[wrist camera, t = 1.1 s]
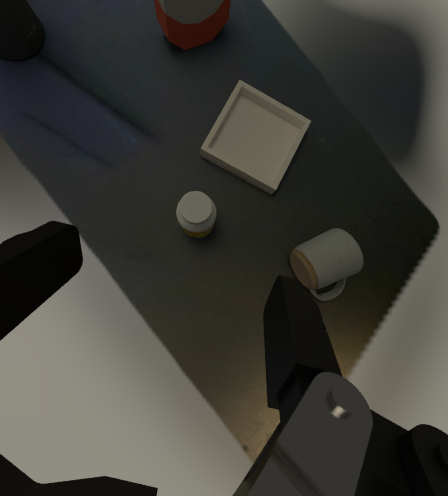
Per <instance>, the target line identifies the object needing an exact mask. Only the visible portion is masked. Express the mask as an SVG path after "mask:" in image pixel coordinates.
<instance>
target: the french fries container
mask: <svg viewBox="0 0 448 496" xmlns="http://www.w3.org/2000/svg"><path fill="white" fill-rule="evenodd" d="M154 3H155V8H156V14H157V19H158V21H159V23H160V25H161V27H162V29H163V31H164V33H165V35H166V37H167V39H168V41H170V42H171V43H173V44H175V45H177V46H178V47H180V48H182V49H184V50H187V49H190V48H193V47H195V46H198V45H201V44H204V43H206V42H209V41H212V40H213V39H214V38H215V37H216V35H217V34H218V33H219V31H220V30H221V29H222V27H223V26H224V25H225V24H226V22H227V21H228V18H229V9H230V0H154Z"/></svg>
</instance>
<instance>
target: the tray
mask: <svg viewBox="0 0 448 496" xmlns="http://www.w3.org/2000/svg"><path fill="white" fill-rule="evenodd" d="M310 122H311V121H310V120H309V119H307V118H305V117H303V116H302V115H300V114H298V113H296V112H295V111H293V110H291V109H290V108H288V107H286V106H284V105H283V104H281V103H279V102H277V101H276V100H274V99H272V98H271V97H269V96H267V95H265V94H264V93H262V92H260V91H258V90H257V89H255V88H253V87H251V86H250V85H248V84H246V83H245V82H243V81H241V80H239V82H238V84H237V85H236V87H235V89H234V91H233V92H232V94H231V96H230V98H229V99H228V101H227V103H226V105H225V106H224V108H223V110H222V112H221V114H220V115H219V117H218V119H217V121H216V122H215V124H214V126H213V128H212V129H211V131H210V133H209V135H208V136H207V138H206V140H205V142H204V143H203V145H202V147H201V157H203V158H205V159H207V160H209V161H210V162H212V163H214V164H216V165H218V166H220V167H221V168H223V169H225V170H227V171H229V172H230V173H232V174H234V175H236V176H238V177H240V178H241V179H243V180H245V181H247V182H249V183H250V184H252V185H254V186H256V187H258V188H260V189H261V190H263V191H265V192H267V193H269V194H270V195H272V194H273V193H274V192H275V191H276V189H277V187H278V185H279V183H280V181H281V179H282V177H283V175H284V173H285V171H286V170H287V168H288V166H289V164H290V162H291V160H292V158H293V156H294V154H295V152H296V150H297V148H298V146H299V144H300V142H301V140H302V138H303V136H304V134H305V132H306V130H307V128H308V126H309V124H310Z"/></svg>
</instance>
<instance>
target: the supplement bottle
mask: <svg viewBox="0 0 448 496" xmlns="http://www.w3.org/2000/svg"><path fill="white" fill-rule="evenodd" d="M176 214H177V219H178V221H179V223H180V225H181V227H182V229H183V230H184V232H185V233H186V234H187V235H189V236H191V237H194V238H202V237H205V236H207V235H208V234H209V233H210V232H211V231H212V229H213V227H214V223H215V219H216V207H215V205H214V203H213V201H212V200H211V199H210V198H209V197H208V196H207V195H206V194H204V193H202V192H199V191H192V192H189V193H187V194H185V195H184V196H183V197H182V199H181V201H180V202H179V204H178V206H177V212H176Z"/></svg>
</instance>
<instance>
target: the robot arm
mask: <svg viewBox="0 0 448 496" xmlns="http://www.w3.org/2000/svg"><path fill="white" fill-rule="evenodd" d="M43 41H44V29H43V26H42V24H41V22H40V20H39V19H38V17H37V16H36V14H35V13H34V11H33V10H32V8H31V7H30V5H29V4H28V2H27V1H26V0H0V58H3V59H7V60H21V59H26V58H28V57H30V56H32V55H33V54H35V53H36V52H37V51H38V50H39V49H40V47H41V46H42V44H43ZM82 262H83V256H82V250H81V244H80V237H79V231H78V229H77V227H76V226H74V225H69V224H65V223H61V222H57V221H50V222H48V223H46V224H44V225H42V226H40V227H38V228H36V229H34V230H32V231H29V232H25V233H22V234H18V235H16V236H14V237H12V238H9V239H7V240H5V241H3V242H2V244H0V340H2V339H3V338H4V337H5V336H6V335H7V334H8V333H10V332H11V331H12V330H13V329H14V328H15V327H16V326H18V325H19V324H20V323H21V322H22V321H23V320H24V319H25V318H27V317H28V316H29V315H30V314H31V313H32V312H33V311H35V310H36V309H37V308H38V307H39V306H40V305H42V303H44V302H45V301H46V300H47V299H48V298H49V297H51V296H52V295H53V294H54V293H55V292H56V291H57V290H59V289H60V288H61V287H62V286H63V285H64V284H66V283H67V282H68V281H69V280H70V279H71V278H72V277H73V276H75V274H77V273H78V272H79V270H80V268H81V266H82ZM322 320H323V319H322V316H321V313H320V310H319V307H318V306H317V305H316V303H315V302H314V301H313V299H312V298H311V297H310V296H308V295H304V294H303V291H302V288H301V284H300V281H299V280H297V279H293V278H289V277H285V276H280V275H279V276H278V277H277V279H276V281H275V283H274V285H273V288H272V290H271V293H270V295H269V297H268V300H267V302H266V305H265V308H264V315H263V322H264V342H265V362H266V382H267V403H268V407H270V408H274V409H278V410H279V413H280V423H279V424H278V426H277V427H276V429H275V431H274V432H273V434H272V435H271V437H270V439H269V440H268V442H267V443H266V445H265V446H264V448H263V450H262V451H261V453H260V454H259V456H258V457H257V459H256V461H255V462H254V464H253V465H252V467H251V468H250V470H249V472H248V473H247V475H246V476H245V478H244V480H243V481H242V483H241V484H240V486H239V487H238V489H237V490H236V492H235V493H234V494H233V496H448V435H447V434H446V433H444V432H443V431H441V430H439V429H437V428H435V427H433V426H430V425H426V424H420V425H417V426H416V427H414V428H412V429H411V430H409V431H407V430H406V429H404V428H402V427H400V426H399V425H397V424H395V423H393V422H392V421H389V420H388V419H386V418H384V417H383V416H381V415H379V414H377V413H376V412H374V411H372V410H371V409H370V408H369V406H368V404H367V402H366V400H365V399H364V397H363V395H362V394H361V393H360V392H359V390H358V389H357V388H356V387H355V386H353V384H352V383H350V382H349V381H348V380H346V379H345V378H343V376H342V374H341V371H340V368H339V365H338V362H337V359H336V356H335V353H334V351H333V348H332V345H331V342H330V339H329V336H328V333H327V332H326V327H325V325H324V322H323V321H322ZM157 490H158V488H155V487H150V486H146V485H142V484H138V483H133V482H129V481H125V480H120V479H116V478H112V477H107V476H102V477H94V478H86V479H78V480H71V481H63V482H55V483H47V484H40V483H37V482H35V481H33V480H32V479H31V478H29V477H28V476H27V475H26V474H25V473H23V472H22V471H21V470H20V469H18V468H17V467H16V466H14V465H13V464H12V463H11V462H9V461H8V460H7V459H6V458H5V457H3V456H2V455H1V454H0V496H156V495H157Z"/></svg>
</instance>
